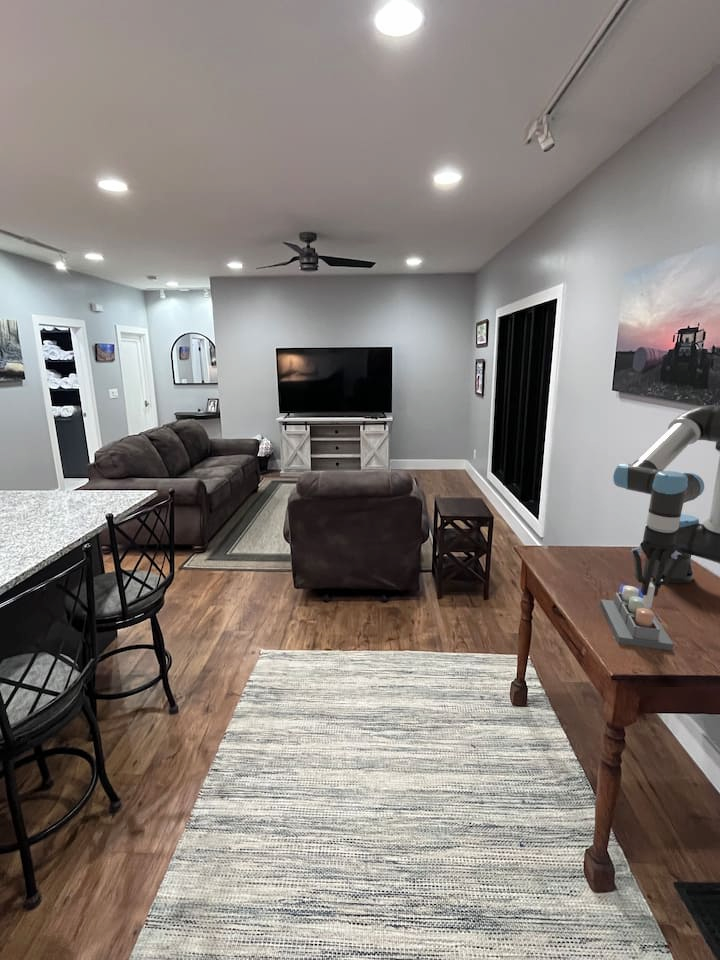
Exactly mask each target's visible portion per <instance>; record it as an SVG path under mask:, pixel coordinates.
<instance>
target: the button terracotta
mask: <svg viewBox="0 0 720 960" xmlns="http://www.w3.org/2000/svg"><path fill="white" fill-rule="evenodd" d="M654 615H655V612H654V611H652V609H651V610H648V609H645V608H638V609H637V612H636V617H635V624H636V625H637V626H640V627H648V628H652V624H653V619H654Z"/></svg>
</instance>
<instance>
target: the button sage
mask: <svg viewBox="0 0 720 960" xmlns="http://www.w3.org/2000/svg"><path fill="white" fill-rule="evenodd" d="M642 601H643V598H640V597H635V596H633V597H630V599H629V605H628V612H629V613H631V614H636V612H637V609H638V608H645V606H644V604H643V603H642Z"/></svg>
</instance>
